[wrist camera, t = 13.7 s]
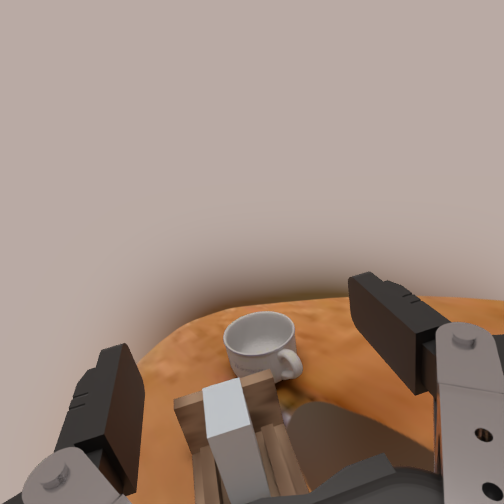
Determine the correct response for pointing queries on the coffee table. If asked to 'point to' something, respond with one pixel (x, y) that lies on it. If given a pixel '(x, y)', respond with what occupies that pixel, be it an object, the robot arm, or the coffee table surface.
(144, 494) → the coffee table surface
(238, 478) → the tall grey pillar
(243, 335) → the teacup
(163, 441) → the coffee table surface
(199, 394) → the track block
